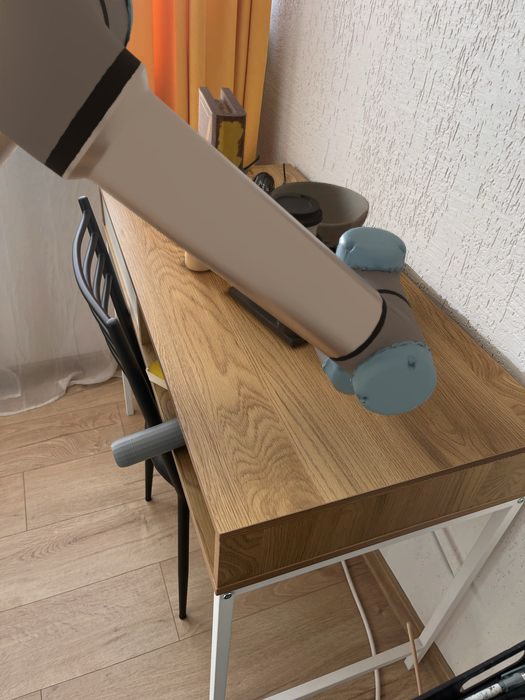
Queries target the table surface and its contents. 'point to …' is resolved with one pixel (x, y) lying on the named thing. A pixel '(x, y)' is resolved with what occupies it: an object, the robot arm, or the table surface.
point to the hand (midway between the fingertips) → (283, 229)
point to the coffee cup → (301, 209)
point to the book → (223, 124)
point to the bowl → (332, 206)
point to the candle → (194, 263)
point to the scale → (267, 318)
